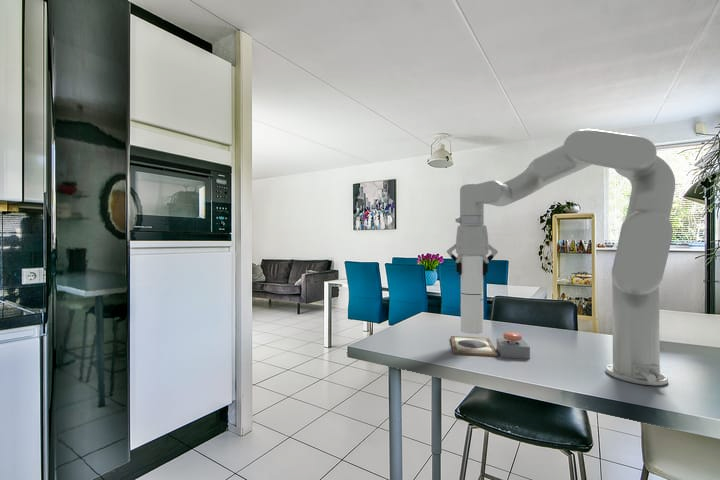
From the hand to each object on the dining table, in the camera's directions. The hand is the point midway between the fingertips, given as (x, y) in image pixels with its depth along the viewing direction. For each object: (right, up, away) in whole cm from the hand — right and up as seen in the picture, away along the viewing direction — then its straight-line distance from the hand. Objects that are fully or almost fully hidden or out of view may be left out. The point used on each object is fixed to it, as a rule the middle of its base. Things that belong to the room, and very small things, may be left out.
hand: (471, 274), depth 115 cm
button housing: (+10, -24, -7) cm, 27 cm away
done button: (+10, -21, -7) cm, 25 cm away
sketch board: (0, -24, 0) cm, 24 cm away
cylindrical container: (0, -19, 0) cm, 19 cm away
